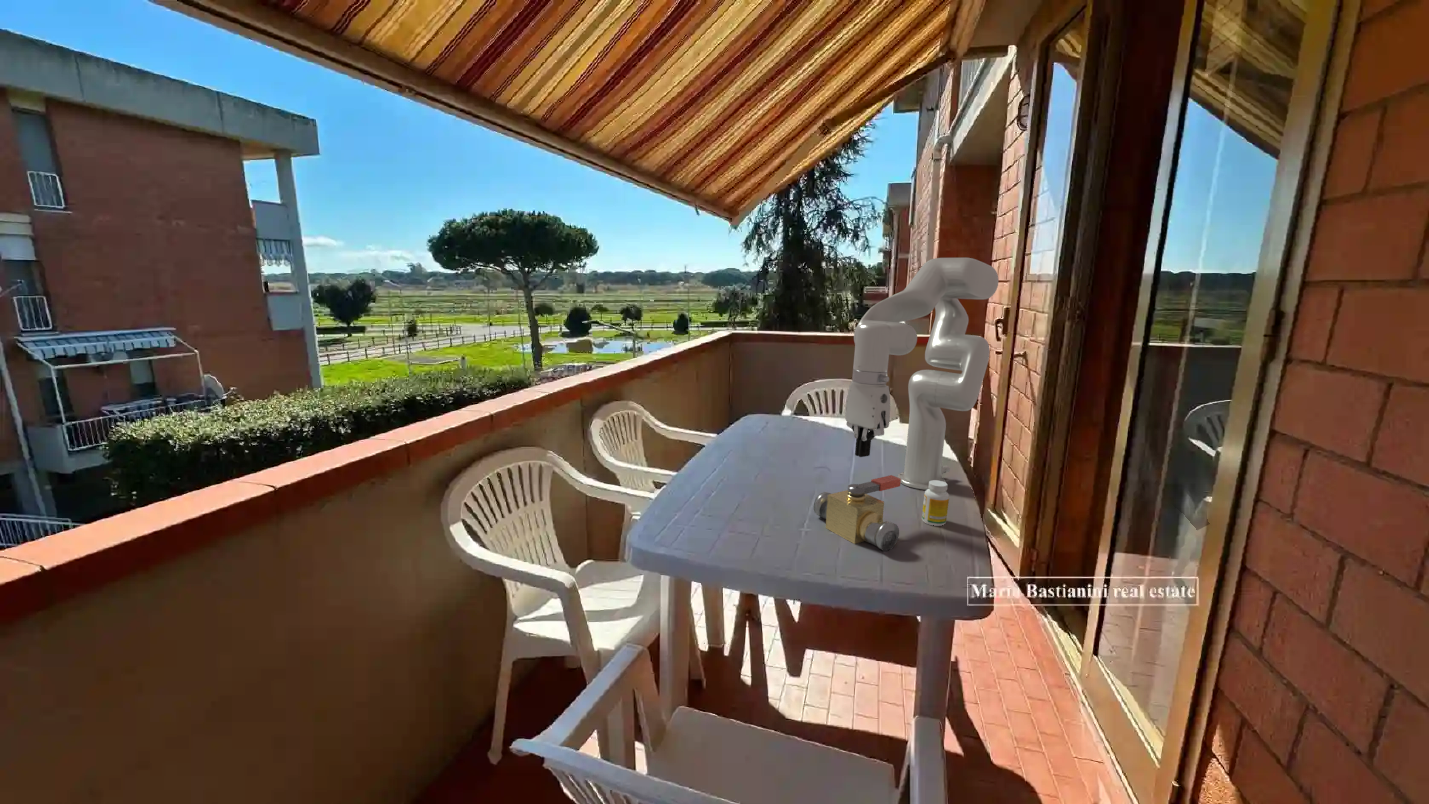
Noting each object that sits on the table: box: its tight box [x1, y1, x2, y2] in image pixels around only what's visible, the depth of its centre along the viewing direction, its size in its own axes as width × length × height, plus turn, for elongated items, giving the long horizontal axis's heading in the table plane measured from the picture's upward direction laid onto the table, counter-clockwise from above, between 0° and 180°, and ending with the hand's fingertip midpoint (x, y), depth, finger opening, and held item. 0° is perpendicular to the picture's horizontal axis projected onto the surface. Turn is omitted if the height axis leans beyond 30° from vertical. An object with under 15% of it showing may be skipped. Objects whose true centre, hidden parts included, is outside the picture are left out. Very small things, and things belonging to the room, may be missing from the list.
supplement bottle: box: [921, 480, 950, 527], centre depth 131 cm, size 5×5×10 cm
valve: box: [813, 489, 900, 552], centre depth 125 cm, size 20×8×9 cm, turn 31°
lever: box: [847, 474, 902, 497], centre depth 126 cm, size 14×4×2 cm, turn 121°
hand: (862, 455), depth 132 cm, fingers closed
